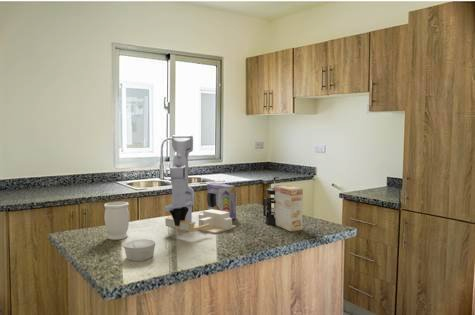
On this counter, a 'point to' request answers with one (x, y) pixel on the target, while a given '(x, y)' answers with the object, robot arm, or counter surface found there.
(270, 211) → the french press
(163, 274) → the counter surface
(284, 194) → the coffeecake box
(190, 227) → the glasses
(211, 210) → the stand
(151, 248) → the ramekin
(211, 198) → the cake pan box
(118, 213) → the jar
